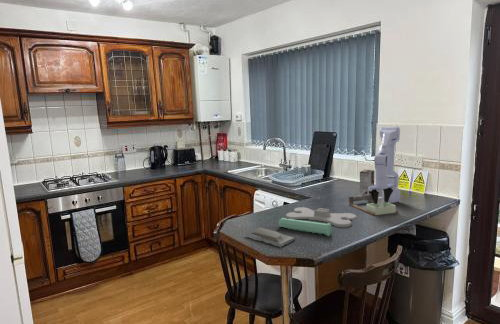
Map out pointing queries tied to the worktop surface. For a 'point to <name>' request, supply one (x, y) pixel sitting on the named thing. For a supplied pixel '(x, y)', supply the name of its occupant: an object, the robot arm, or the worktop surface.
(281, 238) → the grey stepped block
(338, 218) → the holder
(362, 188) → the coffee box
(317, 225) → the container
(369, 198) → the bay
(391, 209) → the green tray with post
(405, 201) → the worktop surface
